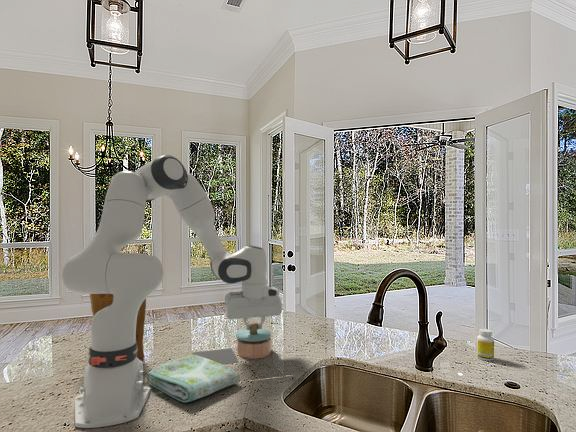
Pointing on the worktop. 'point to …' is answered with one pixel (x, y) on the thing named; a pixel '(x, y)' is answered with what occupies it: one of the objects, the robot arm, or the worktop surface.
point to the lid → (253, 334)
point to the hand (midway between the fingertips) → (253, 329)
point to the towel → (192, 377)
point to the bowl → (253, 348)
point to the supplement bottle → (485, 345)
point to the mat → (219, 356)
